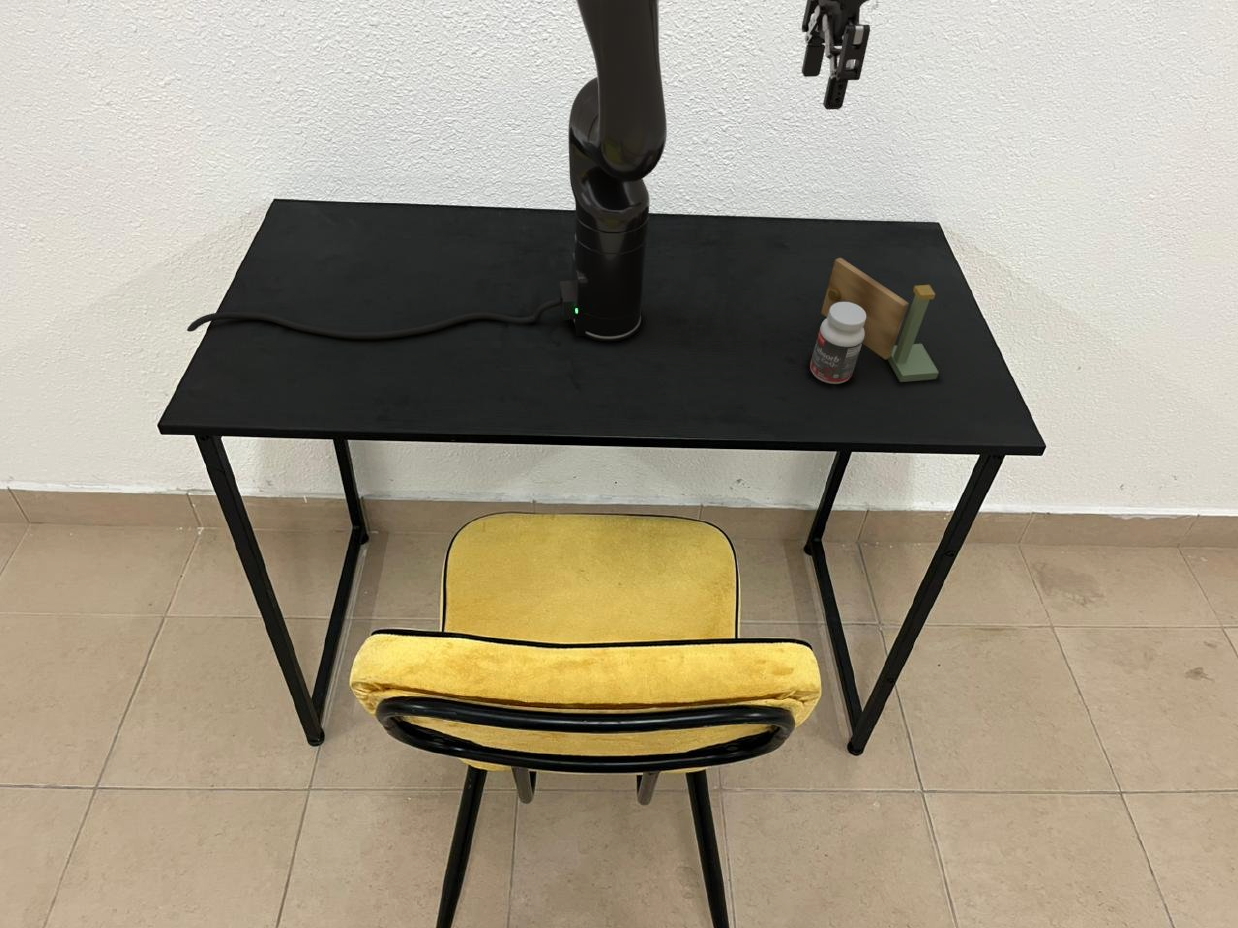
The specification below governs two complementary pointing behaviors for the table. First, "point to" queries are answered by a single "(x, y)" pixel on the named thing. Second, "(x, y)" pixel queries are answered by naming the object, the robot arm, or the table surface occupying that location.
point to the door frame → (911, 357)
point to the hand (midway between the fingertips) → (820, 91)
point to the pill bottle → (838, 343)
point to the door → (868, 305)
